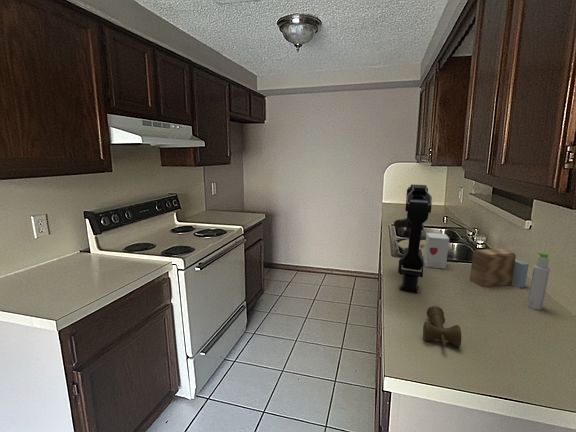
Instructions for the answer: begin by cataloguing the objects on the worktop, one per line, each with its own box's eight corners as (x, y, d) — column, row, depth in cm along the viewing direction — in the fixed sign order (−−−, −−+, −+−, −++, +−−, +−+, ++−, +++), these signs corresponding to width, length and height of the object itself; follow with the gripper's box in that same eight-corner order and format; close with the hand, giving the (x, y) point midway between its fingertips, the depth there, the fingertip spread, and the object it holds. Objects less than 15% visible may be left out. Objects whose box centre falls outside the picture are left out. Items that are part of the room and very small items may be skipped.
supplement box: (425, 267, 151) (428, 236, 148) (422, 261, 160) (425, 232, 157) (446, 269, 149) (449, 238, 146) (442, 262, 158) (446, 233, 154)
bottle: (526, 302, 117) (536, 250, 113) (541, 306, 114) (552, 253, 110) (526, 307, 113) (536, 253, 109) (542, 311, 111) (553, 256, 107)
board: (518, 287, 130) (522, 264, 128) (490, 274, 143) (493, 253, 141) (524, 287, 130) (528, 264, 128) (496, 274, 144) (499, 253, 142)
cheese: (434, 261, 165) (417, 238, 173) (440, 255, 159) (421, 231, 167) (409, 272, 163) (393, 248, 171) (414, 266, 157) (396, 241, 164)
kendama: (450, 323, 103) (464, 359, 84) (418, 319, 106) (424, 352, 87) (451, 305, 102) (466, 338, 83) (419, 302, 105) (426, 332, 86)
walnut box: (482, 286, 130) (487, 255, 127) (469, 280, 137) (473, 249, 134) (511, 284, 133) (516, 253, 130) (497, 277, 140) (501, 248, 137)
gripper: (399, 208, 148) (397, 241, 151) (392, 215, 132) (389, 251, 135) (425, 211, 143) (422, 244, 146) (420, 218, 127) (417, 255, 130)
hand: (412, 248), depth 140 cm, fingers closed
